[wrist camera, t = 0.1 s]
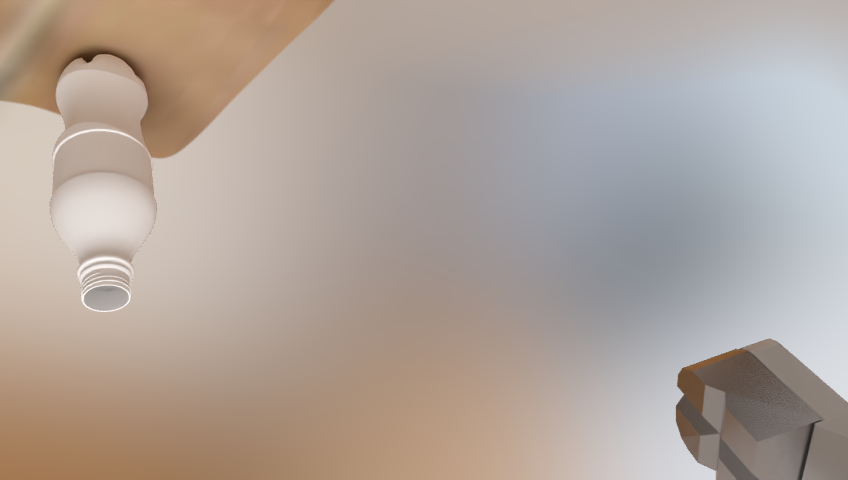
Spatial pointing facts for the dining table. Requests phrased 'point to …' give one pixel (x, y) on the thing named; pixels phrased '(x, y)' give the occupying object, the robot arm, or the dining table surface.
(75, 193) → the water bottle
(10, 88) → the dining table surface
